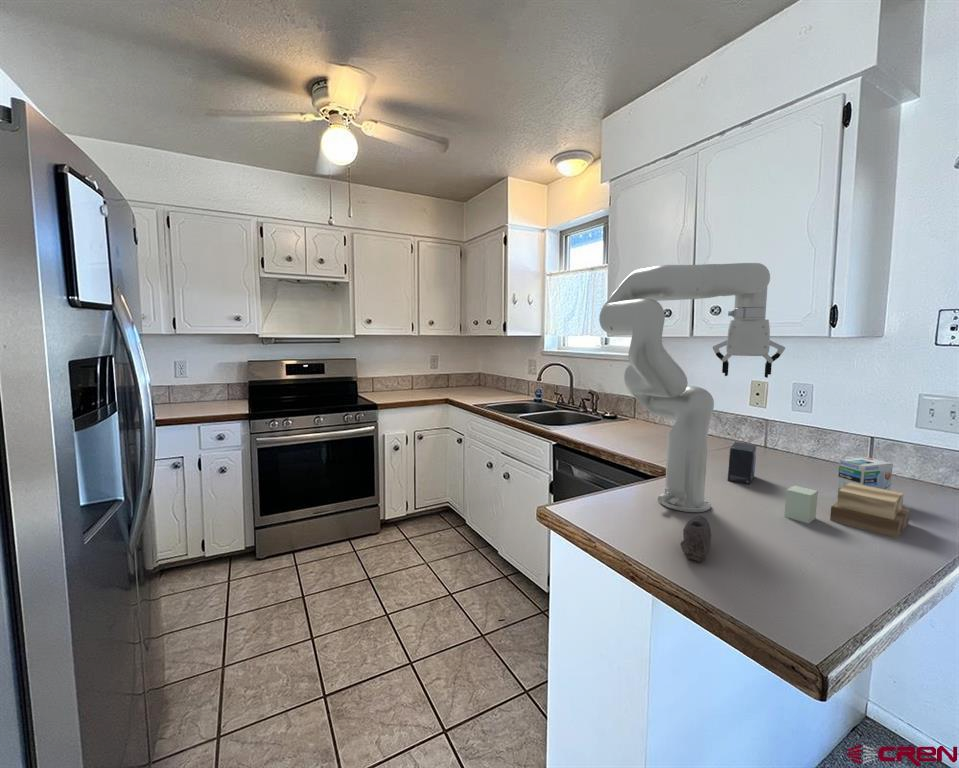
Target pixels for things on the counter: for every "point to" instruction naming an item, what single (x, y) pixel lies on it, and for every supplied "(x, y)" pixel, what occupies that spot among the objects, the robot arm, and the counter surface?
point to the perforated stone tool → (696, 539)
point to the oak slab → (870, 500)
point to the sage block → (801, 504)
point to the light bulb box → (865, 473)
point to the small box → (742, 462)
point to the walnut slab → (871, 520)
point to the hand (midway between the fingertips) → (745, 376)
